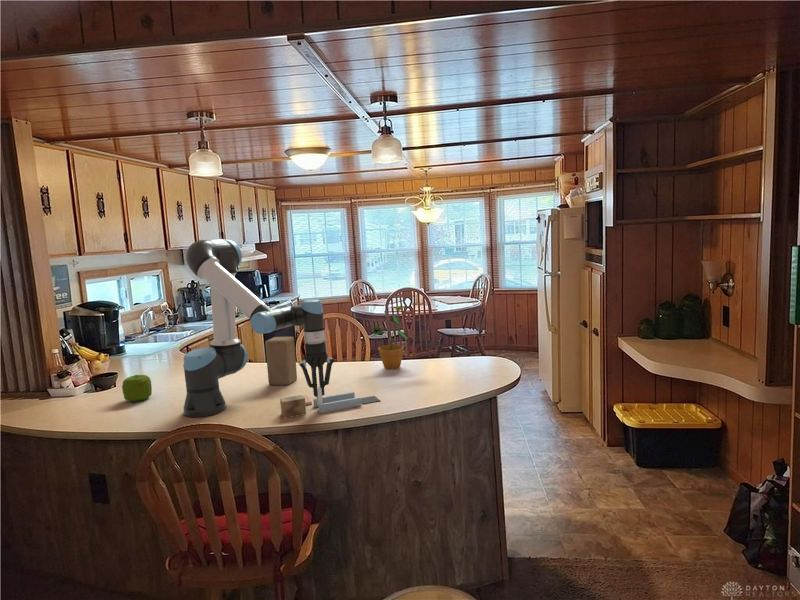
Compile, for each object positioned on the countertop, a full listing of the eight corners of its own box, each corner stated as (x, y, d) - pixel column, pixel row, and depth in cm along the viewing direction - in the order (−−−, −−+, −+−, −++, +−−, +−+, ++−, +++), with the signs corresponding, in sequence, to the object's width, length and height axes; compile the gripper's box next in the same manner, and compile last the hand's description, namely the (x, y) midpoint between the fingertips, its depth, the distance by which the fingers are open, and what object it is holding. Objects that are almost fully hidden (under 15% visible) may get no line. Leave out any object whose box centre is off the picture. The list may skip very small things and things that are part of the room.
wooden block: (289, 385, 231) (285, 340, 228) (267, 385, 233) (264, 340, 231) (298, 379, 241) (294, 336, 238) (277, 379, 243) (274, 336, 240)
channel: (319, 413, 192) (319, 405, 192) (313, 406, 200) (313, 398, 200) (361, 405, 198) (360, 397, 198) (354, 399, 206) (353, 391, 206)
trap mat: (363, 404, 199) (363, 403, 199) (357, 399, 206) (357, 398, 206) (380, 401, 202) (380, 400, 202) (374, 396, 208) (374, 395, 208)
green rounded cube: (126, 398, 225) (122, 373, 224) (153, 394, 229) (150, 369, 228) (122, 405, 215) (119, 379, 214) (151, 401, 219) (148, 375, 217)
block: (283, 418, 189) (282, 402, 188) (281, 414, 193) (280, 398, 193) (306, 414, 192) (304, 398, 191) (303, 410, 196) (301, 394, 196)
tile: (285, 408, 199) (285, 406, 199) (281, 401, 208) (280, 399, 208) (311, 404, 203) (311, 401, 203) (306, 397, 212) (306, 394, 212)
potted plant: (417, 364, 256) (414, 303, 252) (398, 374, 240) (394, 308, 236) (386, 361, 265) (383, 302, 261) (365, 370, 249) (361, 307, 245)
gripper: (299, 346, 187) (304, 410, 190) (334, 341, 192) (339, 404, 195) (295, 342, 194) (300, 404, 197) (329, 338, 199) (334, 398, 202)
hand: (319, 404), depth 196 cm, fingers closed
